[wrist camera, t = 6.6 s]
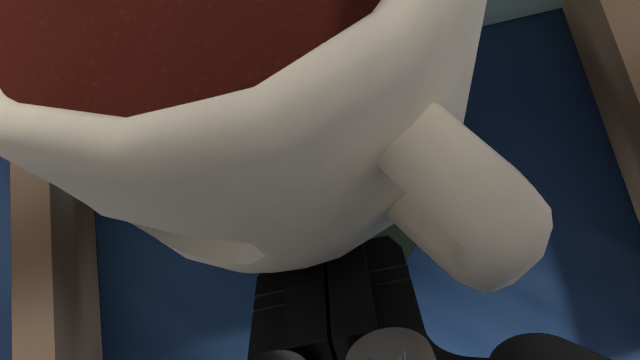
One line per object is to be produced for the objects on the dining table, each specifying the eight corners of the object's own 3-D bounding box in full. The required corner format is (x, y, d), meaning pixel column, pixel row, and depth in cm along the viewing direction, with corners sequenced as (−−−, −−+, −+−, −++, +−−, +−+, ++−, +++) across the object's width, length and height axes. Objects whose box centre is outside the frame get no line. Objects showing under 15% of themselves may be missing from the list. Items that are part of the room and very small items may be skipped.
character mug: (139, 159, 20) (-323, -196, 7) (295, 17, 20) (114, -521, 8) (373, 421, 16) (237, 581, 4) (552, 237, 17) (920, -123, 5)
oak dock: (7, 107, 21) (-181, -11, 14) (645, -46, 19) (769, -266, 12) (10, 449, 17) (-237, 501, 11) (794, 304, 15) (1080, 262, 9)
